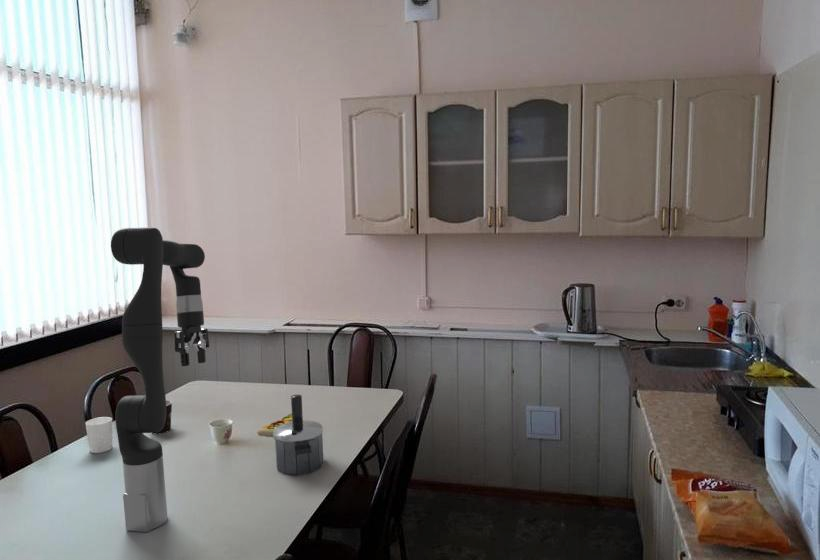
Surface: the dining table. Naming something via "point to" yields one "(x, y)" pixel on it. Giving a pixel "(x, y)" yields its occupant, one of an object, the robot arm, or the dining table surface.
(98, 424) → the white cup
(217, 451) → the dining table surface
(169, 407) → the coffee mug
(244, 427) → the dining table surface
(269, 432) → the pizza slice
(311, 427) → the lid
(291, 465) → the pot
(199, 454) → the dining table surface
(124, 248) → the robot arm
